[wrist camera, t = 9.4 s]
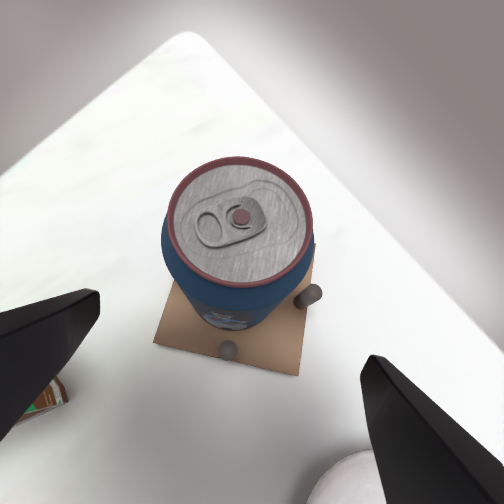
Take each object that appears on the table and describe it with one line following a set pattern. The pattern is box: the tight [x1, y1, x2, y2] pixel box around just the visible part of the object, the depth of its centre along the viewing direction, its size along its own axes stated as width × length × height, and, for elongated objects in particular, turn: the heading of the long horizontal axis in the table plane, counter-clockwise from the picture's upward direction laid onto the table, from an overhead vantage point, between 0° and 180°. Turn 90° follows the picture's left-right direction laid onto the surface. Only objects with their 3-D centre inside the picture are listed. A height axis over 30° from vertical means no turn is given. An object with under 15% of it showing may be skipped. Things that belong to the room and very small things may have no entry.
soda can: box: [161, 156, 314, 331], centre depth 16 cm, size 7×7×12 cm
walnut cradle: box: [153, 243, 322, 376], centre depth 20 cm, size 11×11×5 cm
